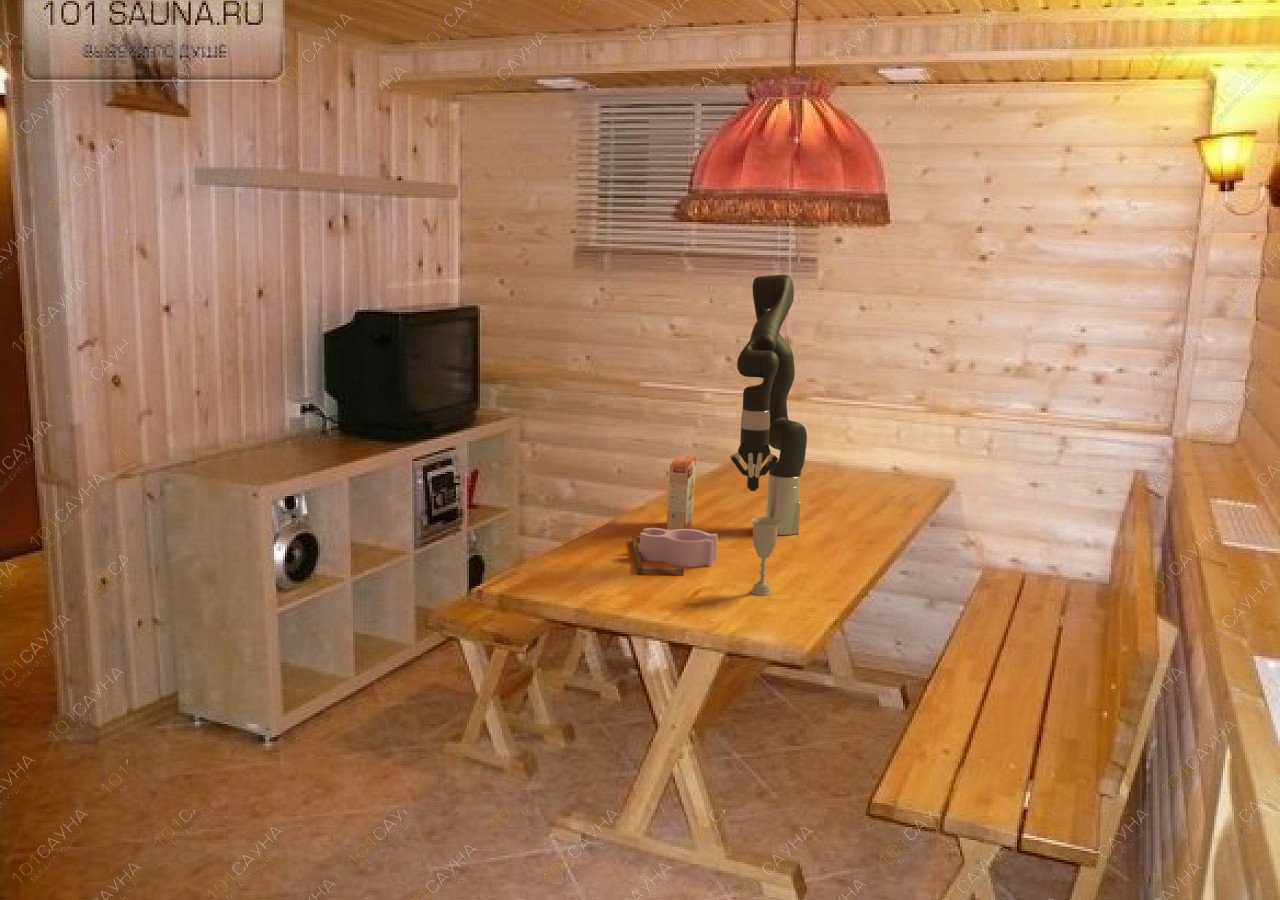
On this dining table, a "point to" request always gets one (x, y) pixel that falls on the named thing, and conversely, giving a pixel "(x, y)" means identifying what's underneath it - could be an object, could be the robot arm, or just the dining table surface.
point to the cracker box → (681, 492)
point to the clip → (678, 546)
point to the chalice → (764, 548)
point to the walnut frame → (651, 570)
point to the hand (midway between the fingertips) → (752, 490)
